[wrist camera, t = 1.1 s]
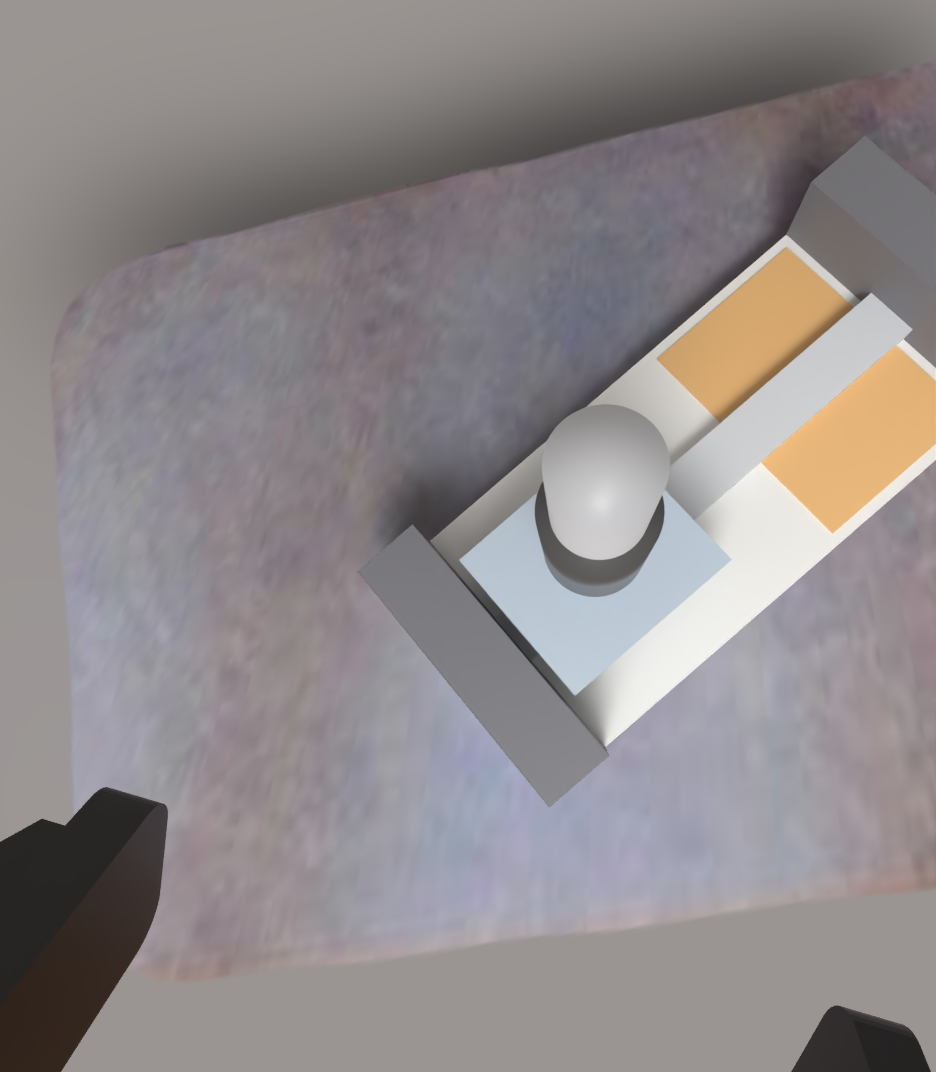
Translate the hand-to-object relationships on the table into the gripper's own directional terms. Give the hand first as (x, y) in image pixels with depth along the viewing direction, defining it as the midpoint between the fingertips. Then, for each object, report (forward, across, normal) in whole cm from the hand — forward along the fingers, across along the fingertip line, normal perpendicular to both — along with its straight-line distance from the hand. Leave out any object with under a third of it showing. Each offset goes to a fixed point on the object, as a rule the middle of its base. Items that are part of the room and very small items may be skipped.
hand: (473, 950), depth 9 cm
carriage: (+25, -3, +5) cm, 25 cm away
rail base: (+30, -7, +2) cm, 30 cm away
